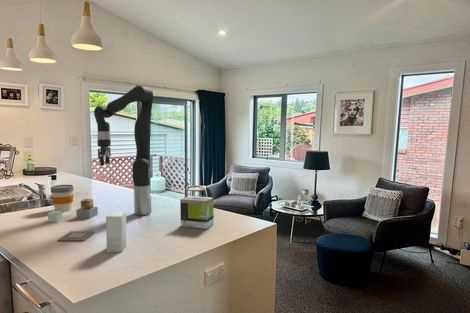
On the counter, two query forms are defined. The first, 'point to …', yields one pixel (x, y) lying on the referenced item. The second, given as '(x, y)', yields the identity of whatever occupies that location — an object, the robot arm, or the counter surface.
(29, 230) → the counter surface
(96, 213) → the slate block
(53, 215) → the sage green block
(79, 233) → the card
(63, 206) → the reusable coffee cup
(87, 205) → the walnut block
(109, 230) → the skincare box
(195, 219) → the tea box
